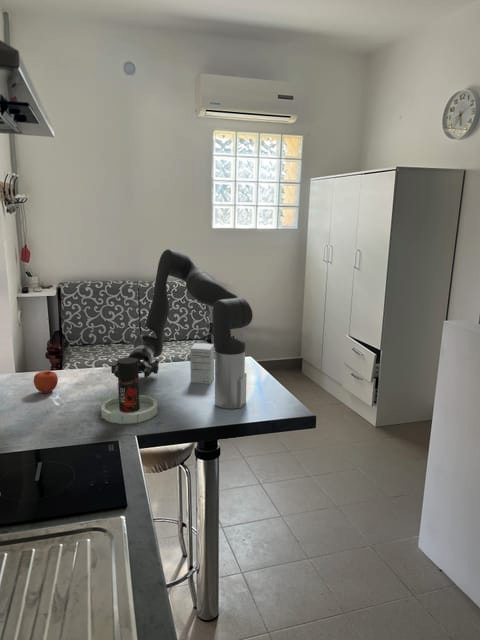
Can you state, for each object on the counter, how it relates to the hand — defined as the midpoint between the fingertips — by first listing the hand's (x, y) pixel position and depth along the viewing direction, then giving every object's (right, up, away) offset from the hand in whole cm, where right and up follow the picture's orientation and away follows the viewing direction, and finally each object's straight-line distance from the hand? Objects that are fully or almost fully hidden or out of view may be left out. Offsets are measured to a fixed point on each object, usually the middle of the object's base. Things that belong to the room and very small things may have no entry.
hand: (131, 374), depth 146 cm
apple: (-31, -7, +14) cm, 35 cm away
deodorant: (0, -10, -2) cm, 10 cm away
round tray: (0, -11, -2) cm, 11 cm away
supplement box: (+19, -5, +27) cm, 34 cm away
